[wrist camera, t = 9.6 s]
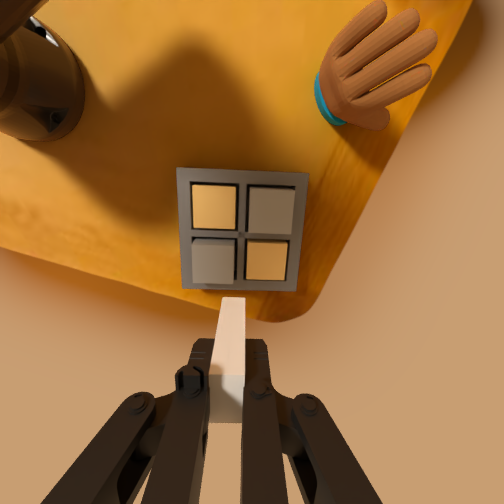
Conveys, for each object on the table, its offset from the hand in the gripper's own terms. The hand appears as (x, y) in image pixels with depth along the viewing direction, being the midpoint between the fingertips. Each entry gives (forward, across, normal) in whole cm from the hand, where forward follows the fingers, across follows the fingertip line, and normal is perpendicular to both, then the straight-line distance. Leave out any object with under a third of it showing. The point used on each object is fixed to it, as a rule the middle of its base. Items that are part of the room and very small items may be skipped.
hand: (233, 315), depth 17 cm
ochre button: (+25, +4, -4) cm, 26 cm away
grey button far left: (+23, -4, -4) cm, 24 cm away
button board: (+26, 0, 0) cm, 26 cm away
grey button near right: (+23, +4, +4) cm, 24 cm away
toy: (+27, +14, +20) cm, 36 cm away
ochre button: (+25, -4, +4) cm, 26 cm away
